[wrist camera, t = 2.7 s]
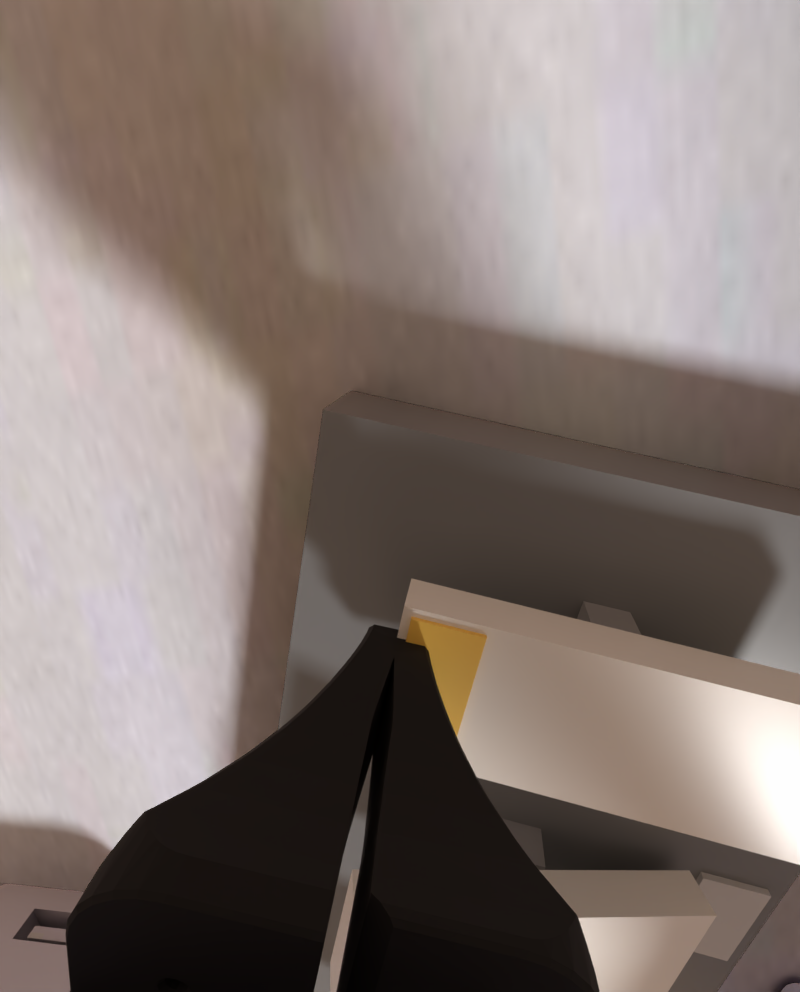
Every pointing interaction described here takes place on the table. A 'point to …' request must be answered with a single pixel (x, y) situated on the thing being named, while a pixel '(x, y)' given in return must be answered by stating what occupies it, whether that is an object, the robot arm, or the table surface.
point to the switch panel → (550, 602)
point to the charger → (34, 938)
